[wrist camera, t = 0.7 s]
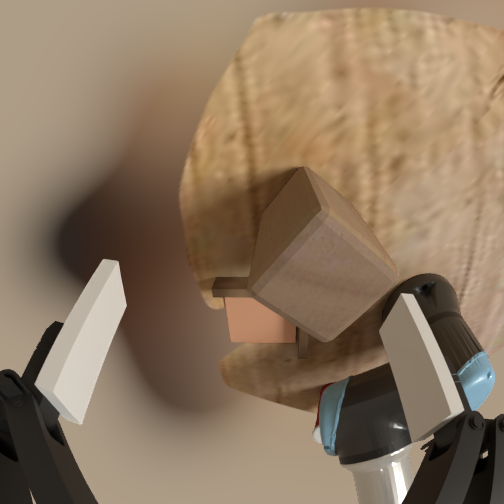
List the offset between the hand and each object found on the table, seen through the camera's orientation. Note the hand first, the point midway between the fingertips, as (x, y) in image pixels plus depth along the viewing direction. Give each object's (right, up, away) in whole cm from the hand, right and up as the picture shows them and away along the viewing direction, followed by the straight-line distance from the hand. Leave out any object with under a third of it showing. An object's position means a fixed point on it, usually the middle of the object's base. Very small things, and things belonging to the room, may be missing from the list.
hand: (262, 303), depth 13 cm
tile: (+1, -9, +37) cm, 38 cm away
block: (+7, +8, +28) cm, 30 cm away
